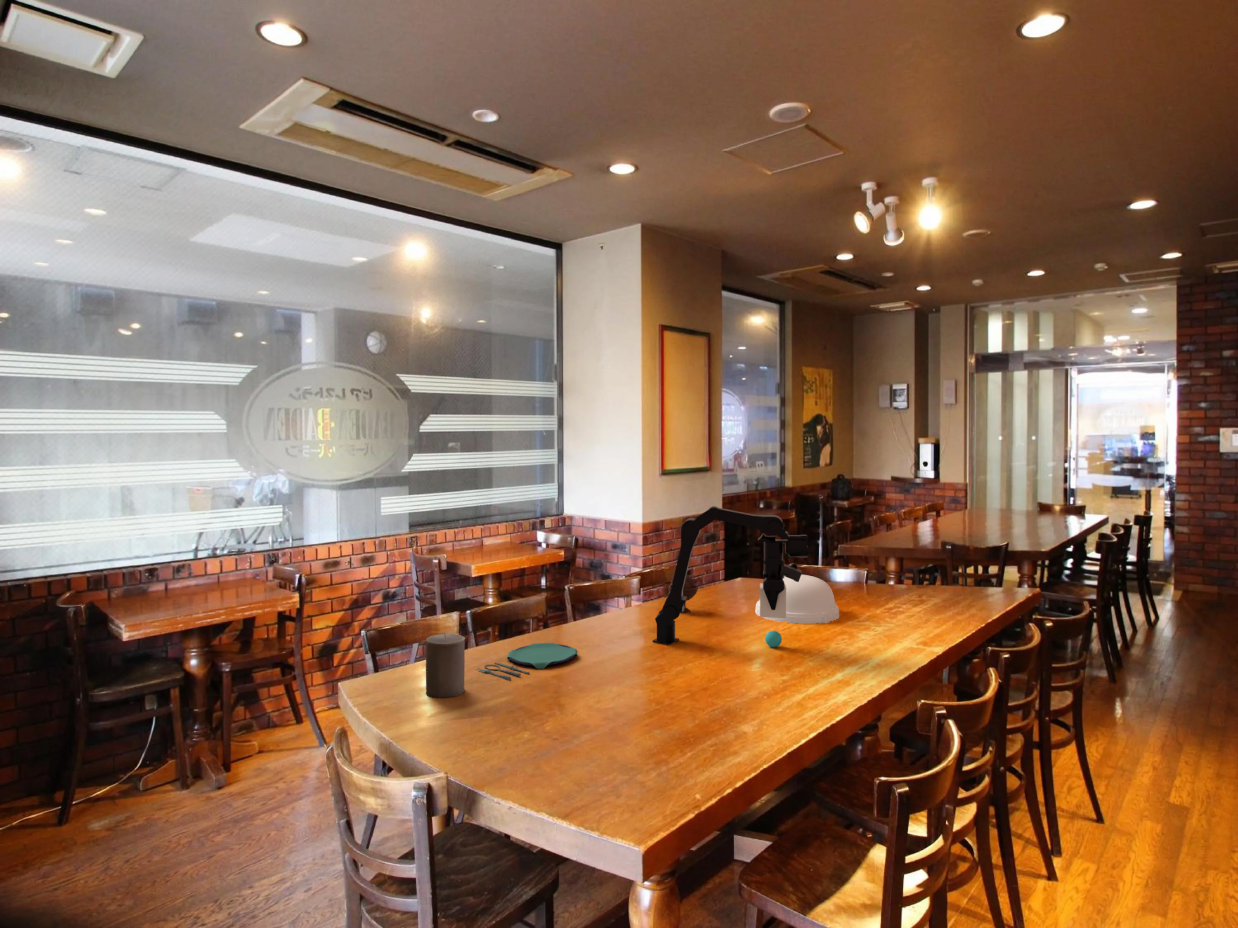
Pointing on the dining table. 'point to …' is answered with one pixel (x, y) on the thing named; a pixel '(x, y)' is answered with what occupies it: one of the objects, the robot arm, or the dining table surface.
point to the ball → (773, 639)
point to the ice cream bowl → (687, 590)
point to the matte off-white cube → (780, 606)
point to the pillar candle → (445, 665)
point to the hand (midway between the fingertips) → (773, 606)
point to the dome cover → (807, 602)
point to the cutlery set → (534, 657)
